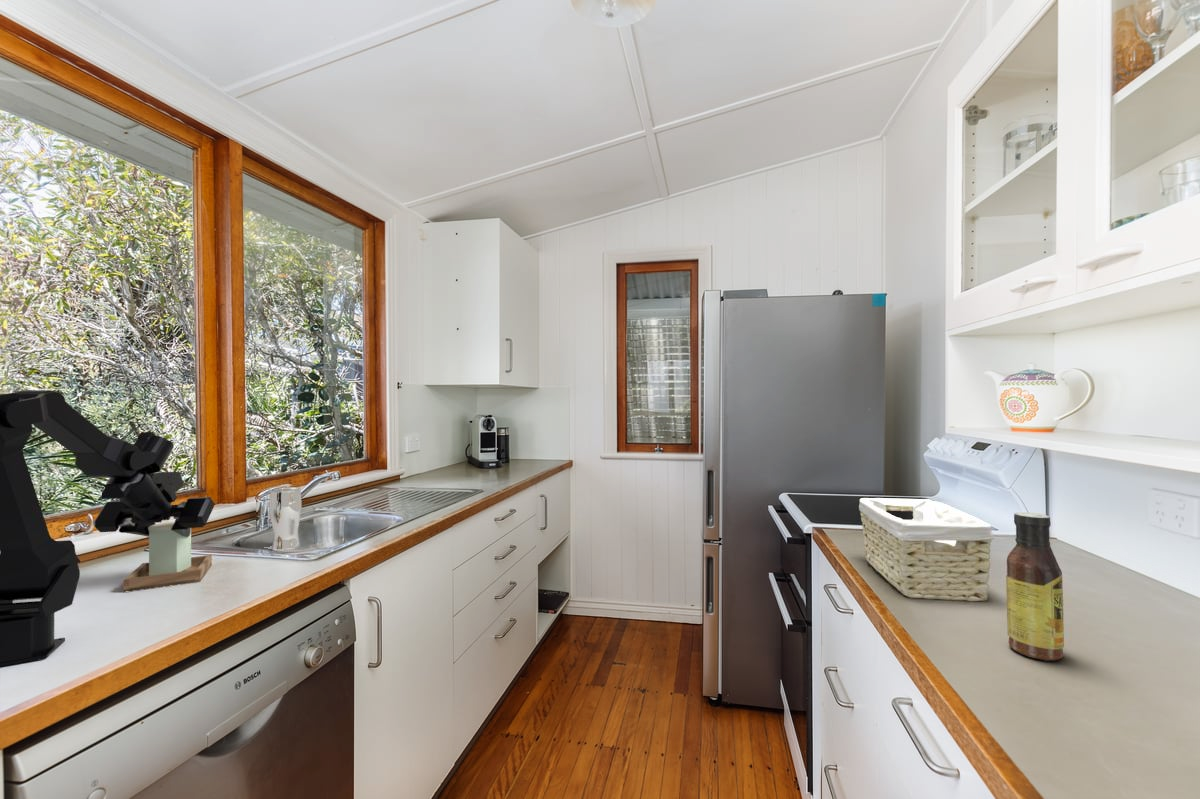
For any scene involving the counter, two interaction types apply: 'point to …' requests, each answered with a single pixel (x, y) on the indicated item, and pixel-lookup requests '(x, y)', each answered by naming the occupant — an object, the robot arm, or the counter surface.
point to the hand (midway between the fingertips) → (174, 535)
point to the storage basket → (928, 548)
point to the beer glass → (285, 517)
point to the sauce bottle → (1034, 591)
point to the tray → (167, 575)
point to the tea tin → (168, 549)
